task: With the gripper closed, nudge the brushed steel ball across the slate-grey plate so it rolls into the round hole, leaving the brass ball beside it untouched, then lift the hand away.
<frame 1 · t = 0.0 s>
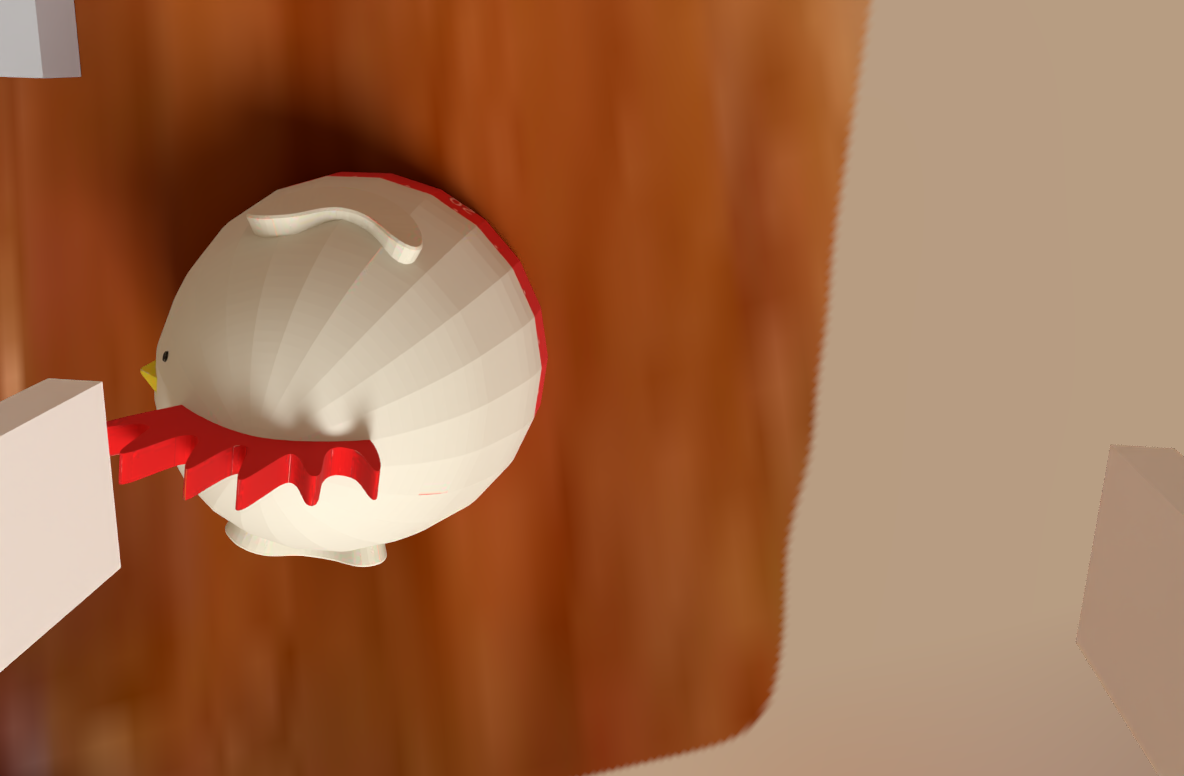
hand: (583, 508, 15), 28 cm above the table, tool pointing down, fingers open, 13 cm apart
kitchen timer: (375, 347, 44), on the table
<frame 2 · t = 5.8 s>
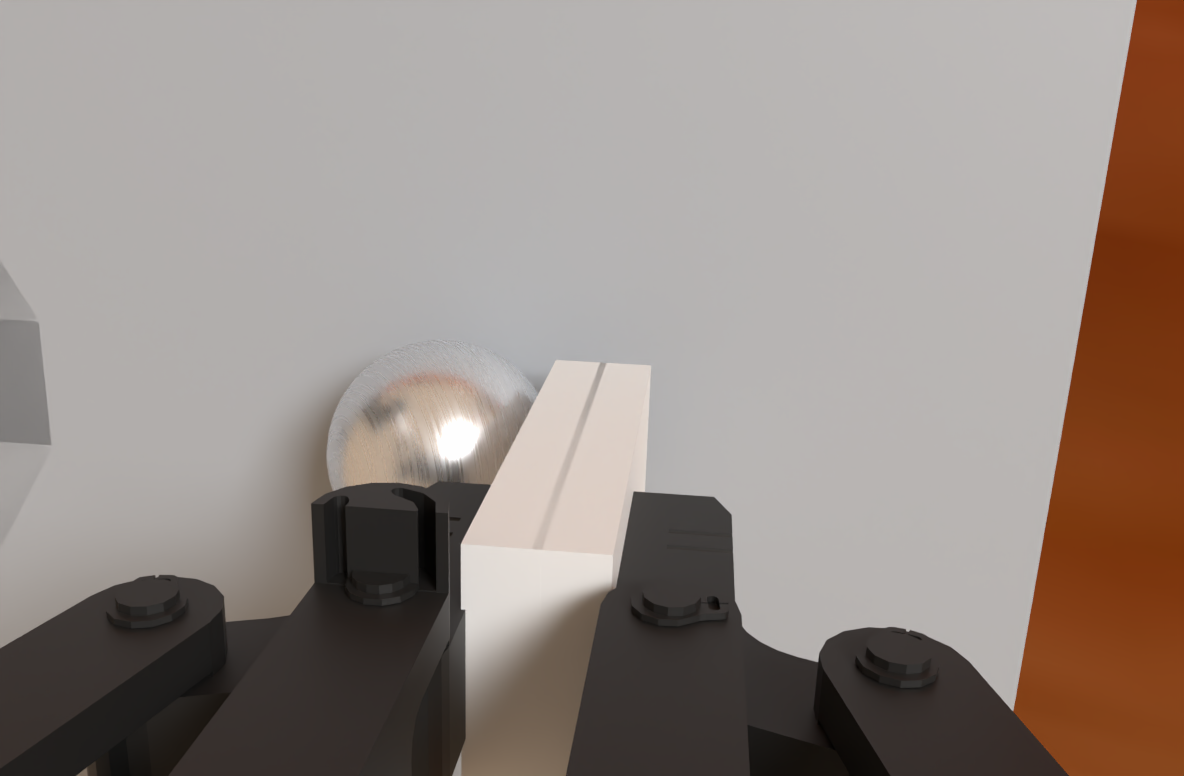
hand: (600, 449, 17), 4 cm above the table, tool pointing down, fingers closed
steel ball: (442, 452, 17), point 4 cm above the table, tilted 50°, touching gripper, plate
plate: (258, 356, 21), on the table
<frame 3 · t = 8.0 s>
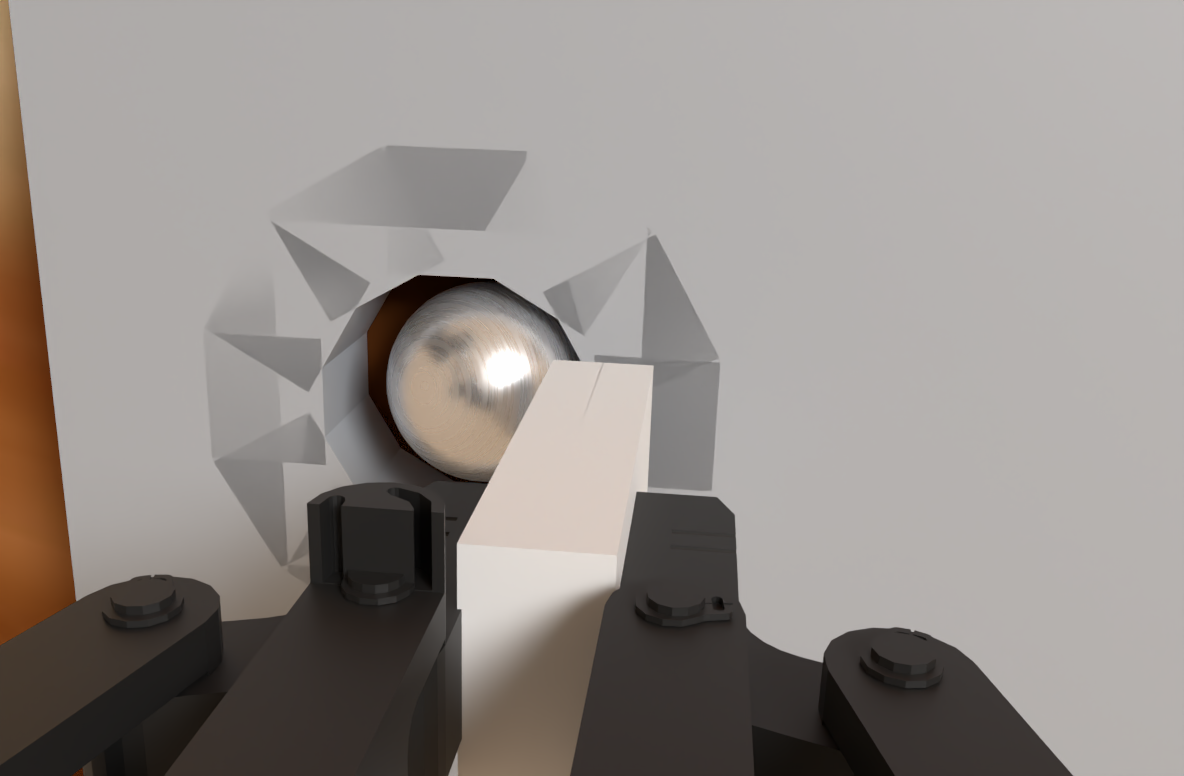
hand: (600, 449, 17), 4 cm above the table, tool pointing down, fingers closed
steel ball: (487, 381, 19), point 2 cm above the table, tilted 28°
plate: (868, 393, 20), on the table
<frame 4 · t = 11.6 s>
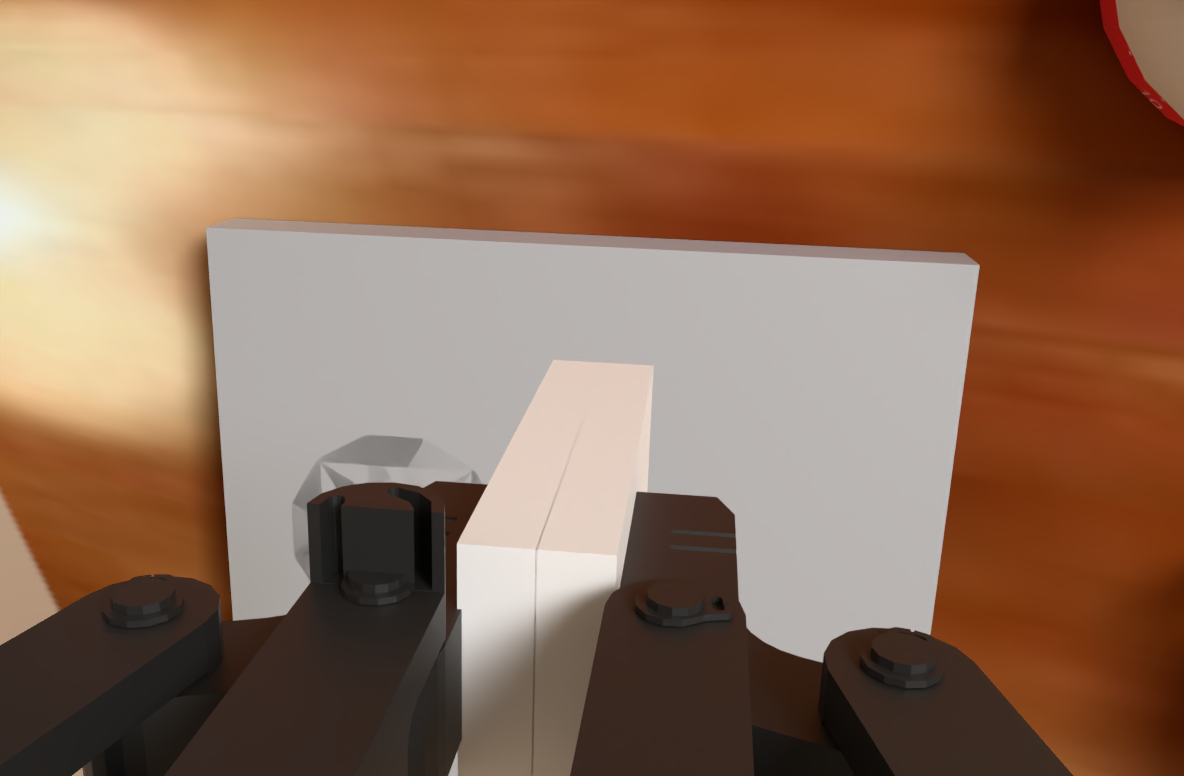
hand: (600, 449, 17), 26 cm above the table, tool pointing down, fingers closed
plate: (579, 525, 46), on the table
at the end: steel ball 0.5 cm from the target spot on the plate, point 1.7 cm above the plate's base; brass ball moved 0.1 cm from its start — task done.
